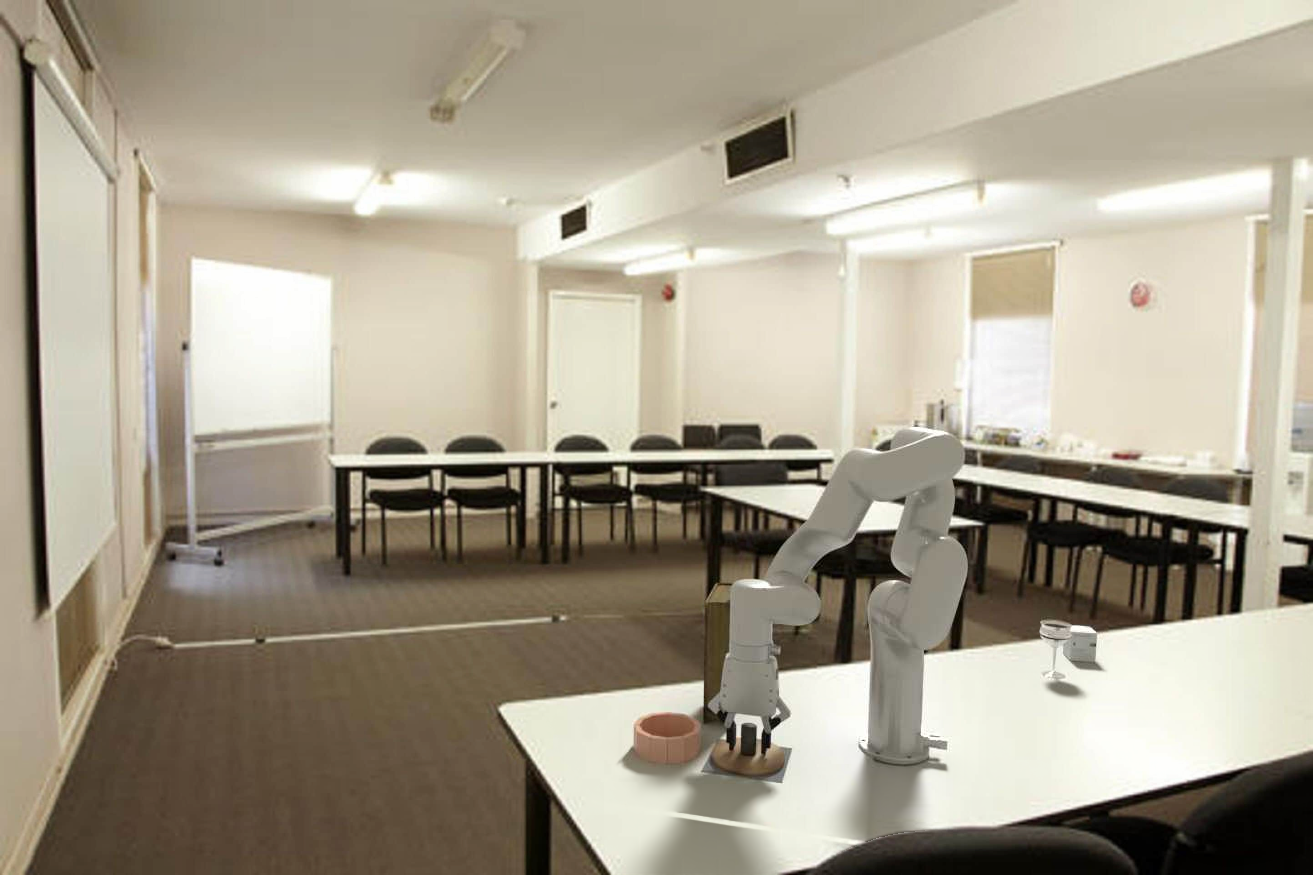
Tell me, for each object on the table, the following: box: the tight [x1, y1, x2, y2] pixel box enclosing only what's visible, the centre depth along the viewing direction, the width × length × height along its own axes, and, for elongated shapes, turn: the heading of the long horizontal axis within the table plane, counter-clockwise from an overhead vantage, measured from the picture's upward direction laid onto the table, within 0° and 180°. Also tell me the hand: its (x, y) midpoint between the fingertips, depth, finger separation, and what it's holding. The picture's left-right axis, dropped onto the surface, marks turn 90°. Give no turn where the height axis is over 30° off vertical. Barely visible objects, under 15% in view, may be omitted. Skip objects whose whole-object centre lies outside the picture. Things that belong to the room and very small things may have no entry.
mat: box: [700, 738, 793, 784], centre depth 159 cm, size 14×14×1 cm
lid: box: [711, 722, 785, 776], centre depth 158 cm, size 13×13×6 cm
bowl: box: [633, 711, 702, 765], centre depth 163 cm, size 12×12×5 cm
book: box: [702, 582, 734, 725], centre depth 180 cm, size 16×6×25 cm, turn 168°
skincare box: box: [1062, 624, 1098, 663], centre depth 218 cm, size 6×6×7 cm
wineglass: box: [1039, 619, 1072, 679], centre depth 205 cm, size 7×7×12 cm
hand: (748, 748), depth 159 cm, fingers open, 5 cm apart
